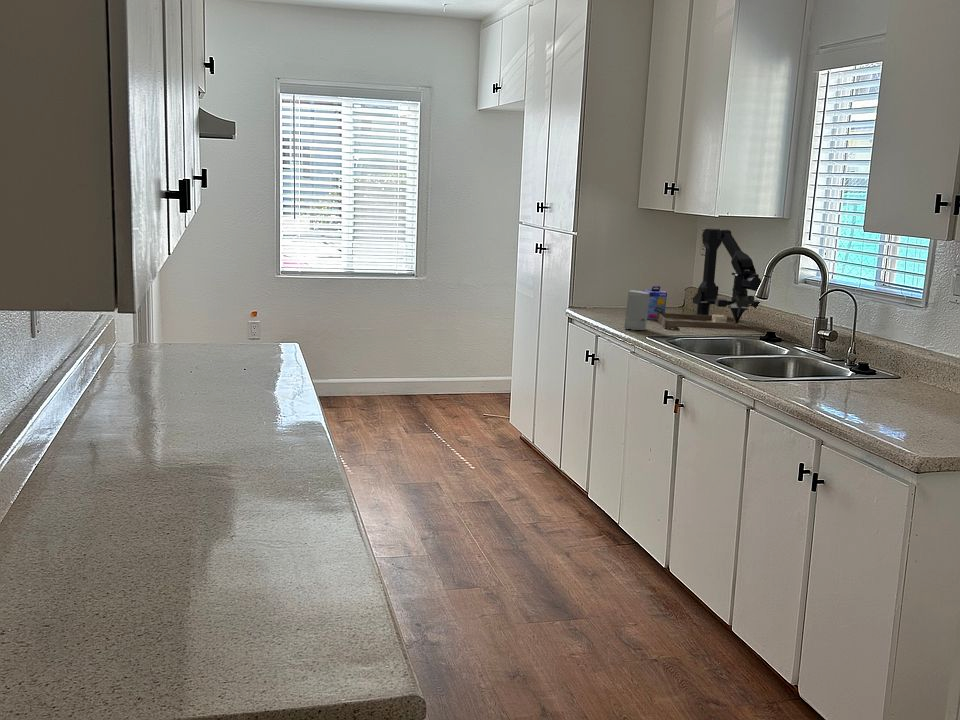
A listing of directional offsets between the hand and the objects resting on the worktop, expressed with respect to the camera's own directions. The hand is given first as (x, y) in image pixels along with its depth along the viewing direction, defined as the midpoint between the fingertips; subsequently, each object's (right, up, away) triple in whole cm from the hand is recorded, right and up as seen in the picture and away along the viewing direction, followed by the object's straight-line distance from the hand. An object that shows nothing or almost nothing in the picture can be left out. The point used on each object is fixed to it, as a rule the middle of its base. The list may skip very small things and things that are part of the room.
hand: (736, 323), depth 397 cm
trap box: (-18, -1, 0) cm, 18 cm away
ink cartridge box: (-33, +3, +15) cm, 36 cm away
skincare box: (-45, -3, -13) cm, 47 cm away
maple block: (-7, 0, 0) cm, 7 cm away
